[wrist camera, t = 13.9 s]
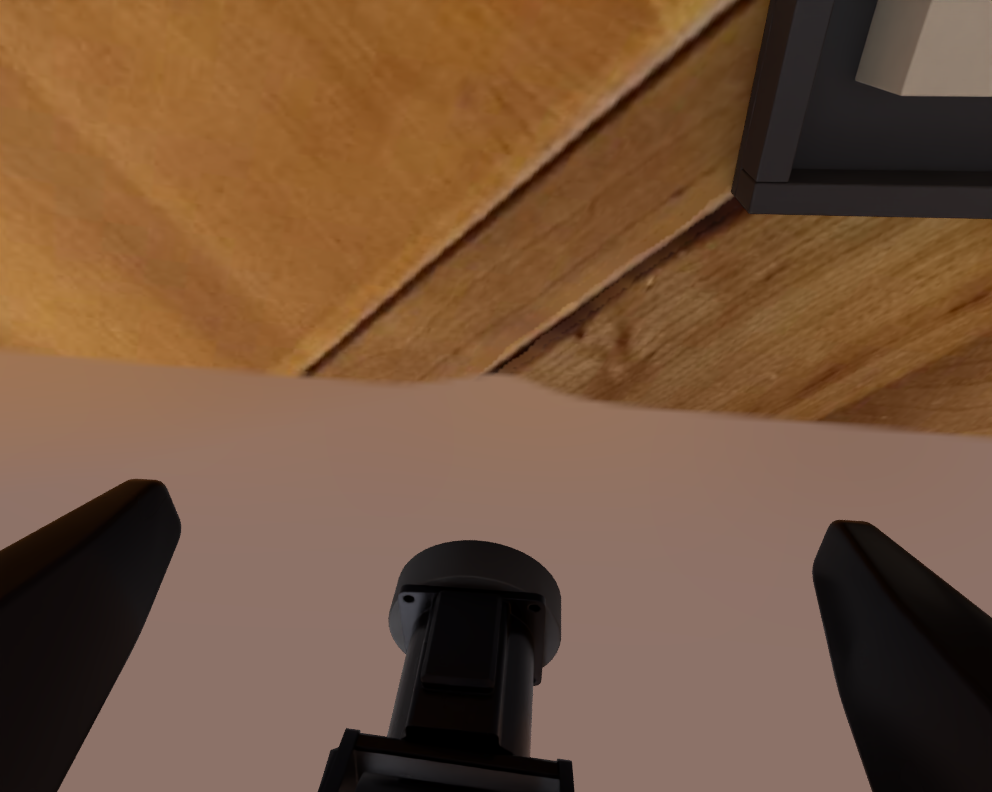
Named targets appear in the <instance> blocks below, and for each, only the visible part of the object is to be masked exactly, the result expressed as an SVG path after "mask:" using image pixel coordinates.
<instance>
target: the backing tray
mask: <svg viewBox="0 0 992 792" xmlns="http://www.w3.org/2000/svg"><path fill="white" fill-rule="evenodd" d="M877 1H878V0H770V5H769V10H768V15H767V20H766V25H765V29H764V34H763V39H762V44H761V49H760V54H759V58H758V63H757V68H756V73H755V78H754V83H753V87H752V92H751V97H750V102H749V107H748V112H747V116H746V121H745V126H744V131H743V136H742V141H741V145H740V150H739V155H738V160H737V165H736V170H735V175H734V179H733V184H732V189H731V193H732V194H733V195H734V196H735V197H736V198H737V200H738V201H739V202H740V203H741V204H742V206H743V207H744V208H745V209H746V211H747V212H748V213H749V214H778V215H825V216H872V217H919V218H967V219H992V97H968V96H900V95H897V94H894V93H891V92H888V91H885V90H882V89H879V88H876V87H873V86H870V85H867V84H864V83H861V82H858V81H855V77H856V74H857V70H858V67H859V63H860V60H861V56H862V53H863V49H864V46H865V43H866V39H867V36H868V32H869V29H870V25H871V22H872V19H873V15H874V12H875V8H876V5H877Z"/></svg>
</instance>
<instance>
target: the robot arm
mask: <svg viewBox="0 0 992 792" xmlns="http://www.w3.org/2000/svg"><path fill="white" fill-rule="evenodd" d="M180 533H181V522H180V519H179V516H178V514H177V511H176V509H175V507H174V504H173V502H172V499H171V497H170V495H169V492H168V490H167V488H166V486H165V485H164V484H163V483H162V482H161V481H158V480H147V479H131V480H128V481H126V482H124V483H122V484H120V485H118V486H116V487H115V488H113V489H111V490H109V491H108V492H106V493H104V494H102V495H100V496H98V497H97V498H95V499H93V500H91V501H89V502H87V503H86V504H84V505H82V506H80V507H79V508H77V509H75V510H73V511H71V512H69V513H68V514H66V515H64V516H62V517H60V518H59V519H57V520H55V521H53V522H52V523H50V524H48V525H46V526H44V527H42V528H40V529H39V530H37V531H36V532H33V533H31V534H30V535H28V536H26V537H24V538H23V539H21V540H19V541H17V542H15V543H14V544H12V545H10V546H8V547H6V548H4V549H3V550H1V551H0V792H57V791H58V789H59V787H60V785H61V784H62V782H63V779H64V778H65V776H66V774H67V772H68V770H69V769H70V767H71V765H72V763H73V761H74V759H75V757H76V755H77V753H78V751H79V750H80V748H81V746H82V744H83V742H84V740H85V738H86V737H87V735H88V733H89V731H90V729H91V727H92V725H93V723H94V721H95V719H96V718H97V716H98V714H99V712H100V710H101V708H102V706H103V704H104V703H105V700H106V699H107V697H108V695H109V693H110V691H111V689H112V688H113V685H114V684H115V682H116V680H117V678H118V676H119V674H120V672H121V671H122V669H123V667H124V665H125V663H126V661H127V659H128V657H129V656H130V654H131V652H132V650H133V648H134V646H135V643H136V641H137V639H138V637H139V635H140V633H141V631H142V628H143V626H144V624H145V622H146V619H147V617H148V614H149V612H150V610H151V607H152V605H153V602H154V600H155V597H156V595H157V592H158V590H159V588H160V585H161V583H162V580H163V578H164V575H165V573H166V570H167V568H168V565H169V563H170V561H171V558H172V556H173V553H174V551H175V548H176V546H177V543H178V541H179V538H180ZM812 574H813V582H814V587H815V591H816V596H817V600H818V604H819V609H820V613H821V618H822V622H823V626H824V631H825V636H826V640H827V644H828V649H829V653H830V658H831V662H832V667H833V671H834V675H835V679H836V683H837V687H838V691H839V695H840V698H841V701H842V704H843V708H844V711H845V714H846V717H847V720H848V723H849V726H850V728H851V731H852V734H853V737H854V740H855V743H856V746H857V749H858V752H859V755H860V758H861V760H862V763H863V766H864V769H865V772H866V775H867V778H868V781H869V784H870V787H871V789H872V792H992V618H991V617H990V616H989V615H987V614H986V613H985V612H984V611H982V610H981V609H980V608H979V607H977V606H976V605H975V604H973V603H972V602H971V601H969V600H968V599H967V598H966V597H965V596H963V595H962V594H961V593H959V592H958V591H957V590H955V589H954V588H953V587H952V586H950V585H949V584H948V583H947V582H945V581H944V580H943V579H942V578H940V577H939V576H938V575H936V574H935V573H934V572H933V571H931V570H930V569H929V568H927V567H926V566H924V564H922V563H921V562H920V561H919V560H917V559H916V558H915V557H913V556H912V555H911V554H910V553H908V552H907V551H906V550H904V549H903V548H902V547H901V546H899V545H898V544H897V543H895V542H894V541H893V540H891V539H890V538H889V537H888V536H886V535H885V534H884V533H883V532H881V531H880V530H879V529H878V528H876V527H875V526H873V525H872V524H870V523H868V522H864V521H850V520H836V521H834V522H832V523H831V524H830V526H829V527H828V530H827V532H826V534H825V536H824V539H823V541H822V543H821V546H820V548H819V550H818V553H817V555H816V558H815V560H814V563H813V571H812ZM398 604H399V610H400V617H401V624H402V630H403V637H404V643H405V650H406V658H405V662H404V667H403V671H402V675H401V679H400V684H399V688H398V692H397V696H396V701H395V705H394V709H393V714H392V718H391V723H390V726H389V731H388V735H387V737H385V736H378V735H371V734H364V733H360V730H355V729H348V728H346V730H345V732H344V735H343V738H342V740H341V743H340V746H339V747H338V748H335V749H333V750H331V751H330V754H329V757H328V761H327V764H326V767H325V771H324V774H323V777H322V781H321V784H320V787H319V790H318V792H574V783H573V782H574V781H573V770H572V761H570V760H563V759H557V761H551V760H544V759H538V758H531V757H530V745H531V720H532V696H533V686H536V685H539V684H540V683H541V678H542V677H541V676H542V662H543V646H544V630H545V614H546V599H545V597H544V596H542V595H541V594H537V593H528V592H514V591H500V590H485V589H471V588H457V587H443V586H429V585H414V584H405V585H403V586H402V587H401V588H400V590H399V594H398Z"/></svg>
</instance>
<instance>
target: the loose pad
mask: <svg viewBox="0 0 992 792" xmlns="http://www.w3.org/2000/svg"><path fill="white" fill-rule="evenodd" d="M855 81H858V82H861V83H864V84H867V85H870V86H873V87H876V88H879V89H882V90H885V91H888V92H891V93H894V94H897V95H900V96H968V97H992V0H878V1H877V5H876V8H875V12H874V15H873V19H872V22H871V25H870V29H869V32H868V36H867V39H866V43H865V46H864V49H863V53H862V56H861V60H860V63H859V67H858V70H857V74H856V77H855Z"/></svg>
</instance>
